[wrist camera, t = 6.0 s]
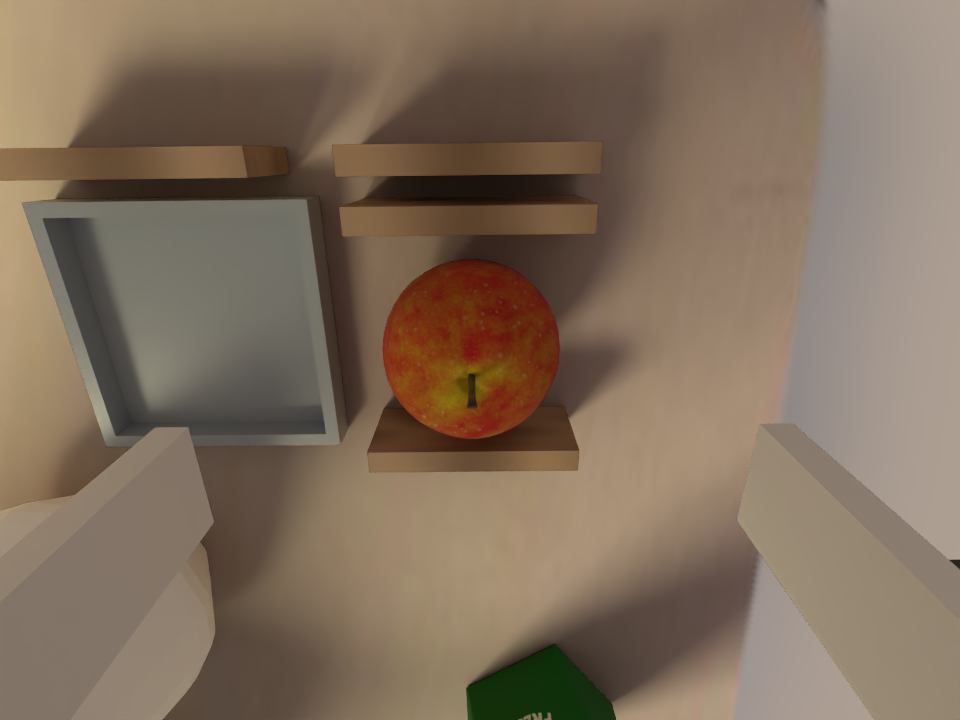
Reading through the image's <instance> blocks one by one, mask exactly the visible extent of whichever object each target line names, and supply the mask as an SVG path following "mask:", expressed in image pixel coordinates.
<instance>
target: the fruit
mask: <svg viewBox="0 0 960 720" xmlns="http://www.w3.org/2000/svg"><path fill="white" fill-rule="evenodd" d="M559 351H560V344H559V335H558V329H557V325H556V322H555V318H554V315H553V313H552V311H551V309H550V307H549V305H548V303H547V302H546V300H545V299H544V297H543V296H542V294H541V293H540V292H539V290H538V289H537V288H536V287H535V286H534V285H533V284H532V283H531V282H530V281H529V280H527V279H526V278H525V277H523V276H522V275H521V274H519V273H518V272H516V271H514V270H512V269H510V268H508V267H506V266H504V265H501V264H498V263H495V262H491V261H485V260H478V259H464V260H458V261H451V262H448V263H445V264H442V265H439V266H436V267H434V268H432V269H430V270H428V271H426V272H425V273H423V274H422V275H421V276H419V277H418V278H416V279H415V280H414V281H412V283H411V284H410V285H409V286H408V287H407V288H406V289H405V290H404V291H403V292H402V294H401V295H400V296H399V298H398V299H397V301H396V302H395V304H394V306H393V308H392V310H391V313H390V315H389V317H388V320H387V323H386V327H385V331H384V338H383V359H384V366H385V371H386V375H387V378H388V381H389V383H390V386H391V388H392V390H393V393H394V394H395V396H396V397H397V399H398V400H399V402H400V403H401V405H402V406H403V407H404V408H405V409H406V410H407V411H408V412H409V413H410V414H411V415H412V416H413V417H414V418H416V419H417V420H418V421H419V422H421V423H423V424H424V425H426V426H428V427H429V428H431V429H434V430H436V431H438V432H440V433H443V434H446V435H450V436H453V437H459V438H465V439H479V438H485V437H490V436H494V435H497V434H500V433H503V432H505V431H507V430H509V429H511V428H513V427H515V426H516V425H518V424H520V423H521V422H523V421H524V420H525V419H526V418H528V417H529V416H530V415H531V414H532V413H533V412H534V411H535V410H536V408H537V407H538V406H539V404H540V403H541V402H542V400H543V398H544V397H545V395H546V393H547V391H548V390H549V388H550V386H551V384H552V382H553V379H554V377H555V375H556V371H557V367H558V363H559Z"/></svg>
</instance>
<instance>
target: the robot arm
mask: <svg viewBox="0 0 960 720" xmlns="http://www.w3.org/2000/svg"><path fill="white" fill-rule="evenodd" d="M737 521H738V523H739V524H740V525H741V527H742V528H743V530H744V531H745V533H746V534H747V536H748V537H749V539H750V540H751V541H752V543H753V544H754V546H755V547H756V549H757V550H758V552H759V553H760V555H761V556H762V557H763V559H764V560H765V562H766V563H767V565H768V566H769V568H770V569H771V571H772V572H773V573H774V575H775V576H776V578H777V579H778V581H779V582H780V584H781V585H782V587H783V588H784V590H785V591H786V592H787V594H788V595H789V597H790V598H791V600H792V601H793V602H794V604H795V605H796V607H797V608H798V610H799V611H800V613H801V614H802V616H803V617H804V619H805V620H806V622H807V623H808V624H809V626H810V627H811V629H812V630H813V631H814V633H815V634H816V636H817V637H818V639H819V640H820V642H821V643H822V645H823V646H824V648H825V649H826V650H827V652H828V654H829V655H830V656H831V658H832V659H833V661H834V662H835V664H836V665H837V666H838V668H839V670H840V671H841V672H842V674H843V675H844V677H845V678H846V680H847V681H848V683H849V684H850V685H851V687H852V688H853V690H854V691H855V693H856V694H857V696H858V697H859V699H860V700H861V701H862V703H863V704H864V706H865V707H866V709H867V710H868V712H869V713H870V715H871V716H872V718H873V719H874V720H960V560H948V559H947V558H946V557H945V556H944V555H943V554H942V553H940V552H939V551H938V550H937V549H936V548H934V547H933V546H932V545H931V544H930V543H929V542H928V541H927V540H925V539H924V538H923V537H922V536H921V535H920V534H919V533H917V532H916V531H915V530H914V529H913V528H912V527H911V526H910V525H908V524H907V523H906V522H905V521H904V520H903V519H901V518H900V517H899V516H898V515H897V514H896V513H895V512H894V511H892V510H891V509H890V508H889V507H888V506H887V505H885V503H883V502H882V501H881V500H880V499H879V498H878V497H877V496H875V495H874V494H873V493H872V492H871V491H870V490H868V489H867V488H866V487H865V486H864V485H863V484H862V483H861V482H859V481H858V480H857V479H856V478H855V477H854V476H853V475H851V474H850V473H849V472H848V471H847V470H846V469H844V468H843V467H842V466H841V465H840V464H839V463H838V462H837V461H835V460H834V459H833V458H832V457H831V456H830V455H829V454H827V453H826V452H825V451H824V450H823V449H822V448H821V447H820V446H818V445H817V444H816V443H815V442H814V441H813V440H812V439H810V438H809V437H808V436H807V435H806V434H805V433H804V432H802V431H801V430H800V429H799V428H798V427H797V426H796V425H795V424H760V425H759V429H758V433H757V438H756V442H755V446H754V450H753V455H752V459H751V463H750V467H749V471H748V476H747V480H746V484H745V488H744V493H743V497H742V501H741V505H740V509H739V514H738V518H737ZM213 523H214V520H213V516H212V512H211V509H210V505H209V501H208V498H207V494H206V491H205V487H204V483H203V480H202V476H201V472H200V469H199V465H198V461H197V458H196V454H195V450H194V447H193V443H192V439H191V436H190V432H189V428H188V427H156V428H154V429H153V430H152V431H150V432H149V433H148V434H147V435H146V436H145V437H143V438H142V439H141V440H140V441H139V442H137V443H136V444H135V445H134V446H133V447H131V448H130V449H129V450H128V451H127V452H125V453H124V454H123V455H122V456H121V457H119V458H118V459H117V460H116V461H115V462H114V463H112V464H111V465H110V466H109V467H108V468H106V469H105V470H104V471H103V472H102V473H100V474H99V475H98V476H97V477H96V478H94V479H93V480H92V481H91V482H90V483H88V484H87V485H86V486H85V487H84V488H83V489H81V490H80V491H79V492H78V493H77V494H75V495H74V496H73V497H72V498H71V499H69V500H68V501H67V502H66V503H65V504H63V505H62V506H61V507H60V508H59V509H57V510H56V511H55V512H54V513H53V514H51V515H50V516H49V517H48V518H47V519H46V520H44V521H43V522H42V523H41V524H40V525H38V526H37V527H36V528H35V529H34V530H32V531H31V532H30V533H29V534H28V535H26V536H25V537H24V538H23V539H22V540H20V541H19V542H18V543H17V544H16V545H15V546H13V547H12V548H11V549H10V550H9V551H7V552H6V553H5V554H4V555H3V556H1V557H0V720H71V718H72V717H73V715H74V714H75V713H76V711H77V710H78V709H79V707H80V706H81V704H82V703H83V702H84V700H85V699H86V698H87V696H88V695H89V693H90V692H91V691H92V689H93V688H94V687H95V685H96V684H97V683H98V681H99V680H100V678H101V677H102V676H103V674H104V673H105V672H106V670H107V669H108V667H109V666H110V665H111V663H112V662H113V661H114V659H115V658H116V656H117V655H118V654H119V652H120V651H121V650H122V648H123V647H124V645H125V644H126V643H127V641H128V640H129V639H130V637H131V636H132V634H133V633H134V632H135V630H136V629H137V628H138V626H139V625H140V623H141V622H142V621H143V619H144V618H145V617H146V615H147V614H148V612H149V611H150V610H151V608H152V607H153V606H154V604H155V603H156V602H157V600H158V599H159V597H160V596H161V595H162V593H163V592H164V591H165V589H166V588H167V586H168V585H169V584H170V582H171V581H172V580H173V578H174V577H175V575H176V574H177V573H178V571H179V570H180V569H181V567H182V566H183V564H184V563H185V562H186V560H187V559H188V558H189V556H190V555H191V553H192V552H193V551H194V549H195V548H196V547H197V545H198V544H199V542H200V541H201V540H202V538H203V537H204V536H205V534H206V533H207V531H208V530H209V529H210V527H211V526H212V525H213Z"/></svg>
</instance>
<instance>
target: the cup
mask: <svg viewBox="0 0 960 720" xmlns="http://www.w3.org/2000/svg"><path fill="white" fill-rule="evenodd" d="M73 496H74V495H72V496H66V497H60V498H54V499H48V500H41V501H35V502H29V503H25V504H22V505H18V506H15V507H11V508H8V509H4V510H1V511H0V557H1V556H3V555H4V554H5V553H6V552H7V551H9V550H10V549H11V548H12V547H13V546H15V545H16V544H17V543H18V542H19V541H20V540H22V539H23V538H24V537H25V536H26V535H28V534H29V533H30V532H31V531H32V530H34V529H35V528H36V527H37V526H38V525H40V524H41V523H42V522H43V521H44V520H46V519H47V518H48V517H49V516H50V515H51V514H53V513H54V512H55V511H56V510H57V509H59V508H60V507H61V506H62V505H63V504H65V503H66V502H67V501H68V500H69V499H71V498H72V497H73ZM215 632H216V631H215V620H214V610H213V599H212V589H211V578H210V570H209V564H208V557H207V551H206V549H205V548H204V546H203V545H202V543H201V542H199V544H198V545H197V547H196V548H195V549H194V551H193V552H192V553H191V555H190V556H189V558H188V559H187V560H186V562H185V563H184V564H183V566H182V567H181V569H180V570H179V571H178V573H177V574H176V575H175V577H174V578H173V580H172V581H171V582H170V584H169V585H168V586H167V588H166V589H165V591H164V592H163V593H162V595H161V596H160V597H159V599H158V600H157V602H156V603H155V604H154V606H153V607H152V608H151V610H150V611H149V612H148V614H147V615H146V617H145V618H144V619H143V621H142V622H141V623H140V625H139V626H138V628H137V629H136V630H135V632H134V633H133V634H132V636H131V637H130V639H129V640H128V641H127V643H126V644H125V645H124V647H123V648H122V650H121V651H120V652H119V654H118V655H117V656H116V658H115V659H114V661H113V662H112V663H111V665H110V666H109V667H108V669H107V670H106V672H105V673H104V674H103V676H102V677H101V678H100V680H99V681H98V683H97V684H96V685H95V687H94V688H93V689H92V691H91V692H90V693H89V695H88V696H87V698H86V699H85V700H84V702H83V703H82V704H81V706H80V707H79V709H78V710H77V711H76V713H75V714H74V715H73V717H72V718H71V720H163V719H164V718H165V716H166V715H167V714H168V713H169V712H170V711H171V709H172V708H173V707H174V706H175V705H176V704H177V703H178V701H179V700H180V699H181V698H182V697H183V696H184V694H185V693H186V692H187V691H188V690H189V688H190V687H191V685H192V684H193V683H194V681H195V680H196V678H197V677H198V675H199V673H200V671H201V668H202V666H203V664H204V662H205V659H206V657H207V655H208V653H209V651H210V648H211V646H212V643H213V639H214V636H215Z"/></svg>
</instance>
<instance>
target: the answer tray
mask: <svg viewBox="0 0 960 720" xmlns="http://www.w3.org/2000/svg"><path fill="white" fill-rule="evenodd" d="M22 205H23V208H24V211H25V214H26V217H27V219H28V222H29V225H30V228H31V231H32V234H33V237H34V240H35V242H36V245H37V248H38V251H39V254H40V257H41V260H42V263H43V266H44V268H45V271H46V274H47V277H48V280H49V283H50V286H51V289H52V291H53V294H54V297H55V300H56V303H57V306H58V309H59V312H60V315H61V317H62V320H63V323H64V326H65V329H66V332H67V335H68V338H69V340H70V343H71V346H72V349H73V352H74V355H75V358H76V361H77V363H78V366H79V369H80V372H81V375H82V378H83V381H84V384H85V387H86V389H87V392H88V395H89V398H90V401H91V404H92V407H93V410H94V412H95V415H96V418H97V421H98V424H99V427H100V430H101V433H102V436H103V438H104V441H105V444H106V447H133V446H134V445H135V444H136V443H137V442H139V441H140V440H141V439H142V438H143V437H145V436H146V435H147V434H148V433H149V432H150V431H152V430H153V429H154V428H156V427H188V428H189V432H190V436H191V439H192V443H193V446H282V445H340V444H341V442H342V440H343V438H344V436H345V434H346V432H347V430H348V421H347V413H346V405H345V397H344V390H343V382H342V374H341V366H340V358H339V351H338V343H337V335H336V327H335V320H334V312H333V304H332V296H331V288H330V281H329V273H328V265H327V257H326V249H325V242H324V234H323V226H322V218H321V210H320V203H319V196H296V197H210V198H124V199H52V200H42V201H33V202H23V203H22Z"/></svg>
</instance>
